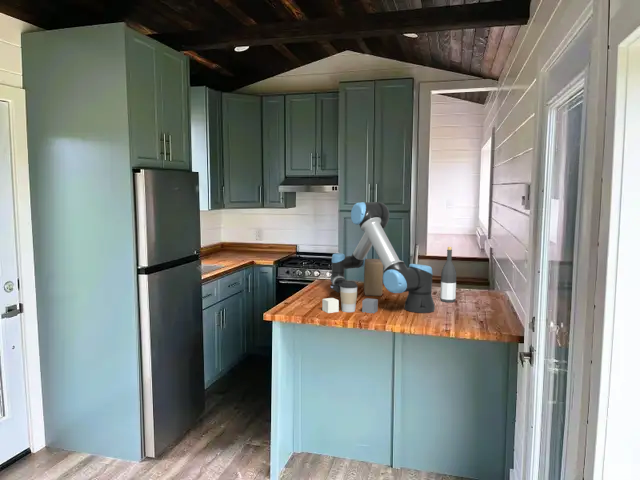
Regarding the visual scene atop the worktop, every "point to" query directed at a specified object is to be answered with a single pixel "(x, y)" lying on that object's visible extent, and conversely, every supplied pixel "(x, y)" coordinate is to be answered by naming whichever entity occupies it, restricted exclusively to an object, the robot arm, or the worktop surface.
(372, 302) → the charcoal block
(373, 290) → the block
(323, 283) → the worktop surface
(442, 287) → the wine bottle
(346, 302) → the coffee cup
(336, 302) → the cream block
